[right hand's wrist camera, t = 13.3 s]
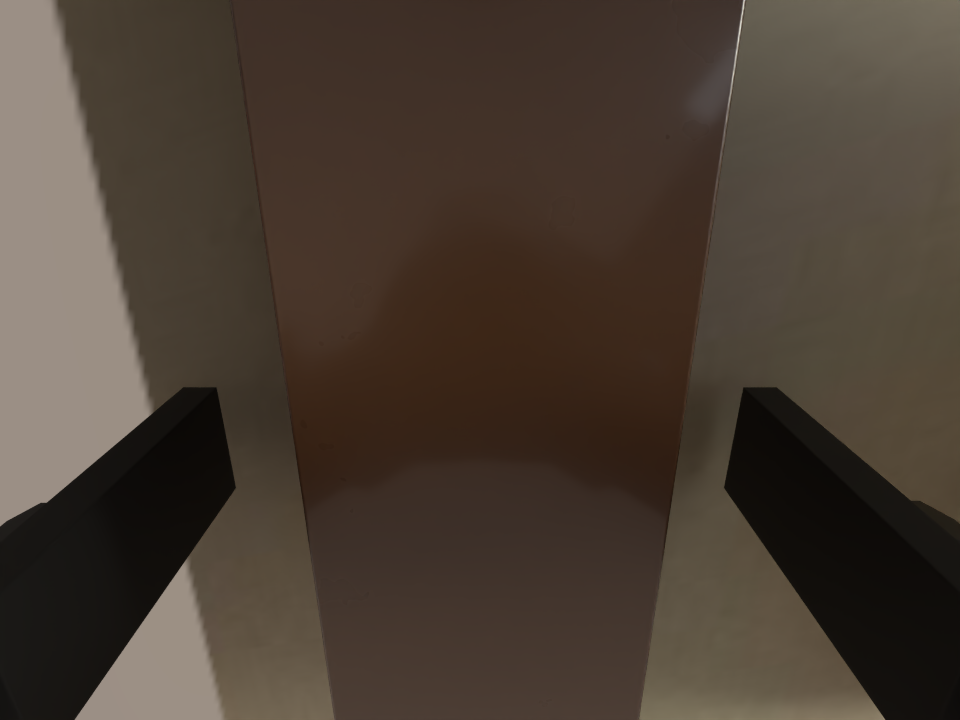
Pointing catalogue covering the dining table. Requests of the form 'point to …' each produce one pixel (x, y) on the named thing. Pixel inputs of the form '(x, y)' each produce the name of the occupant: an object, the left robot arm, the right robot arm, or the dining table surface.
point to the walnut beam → (487, 328)
